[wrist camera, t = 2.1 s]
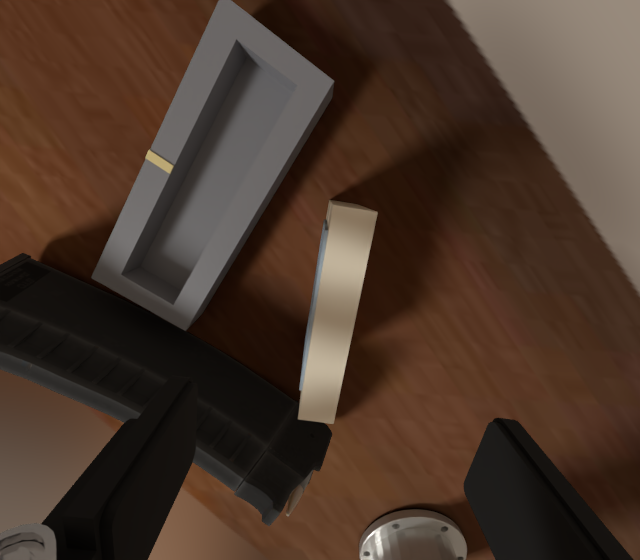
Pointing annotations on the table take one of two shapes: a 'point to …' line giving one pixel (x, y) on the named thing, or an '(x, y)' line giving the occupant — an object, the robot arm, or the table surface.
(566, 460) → the table surface
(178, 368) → the magazine
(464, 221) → the table surface
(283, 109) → the gray rectangular tray
